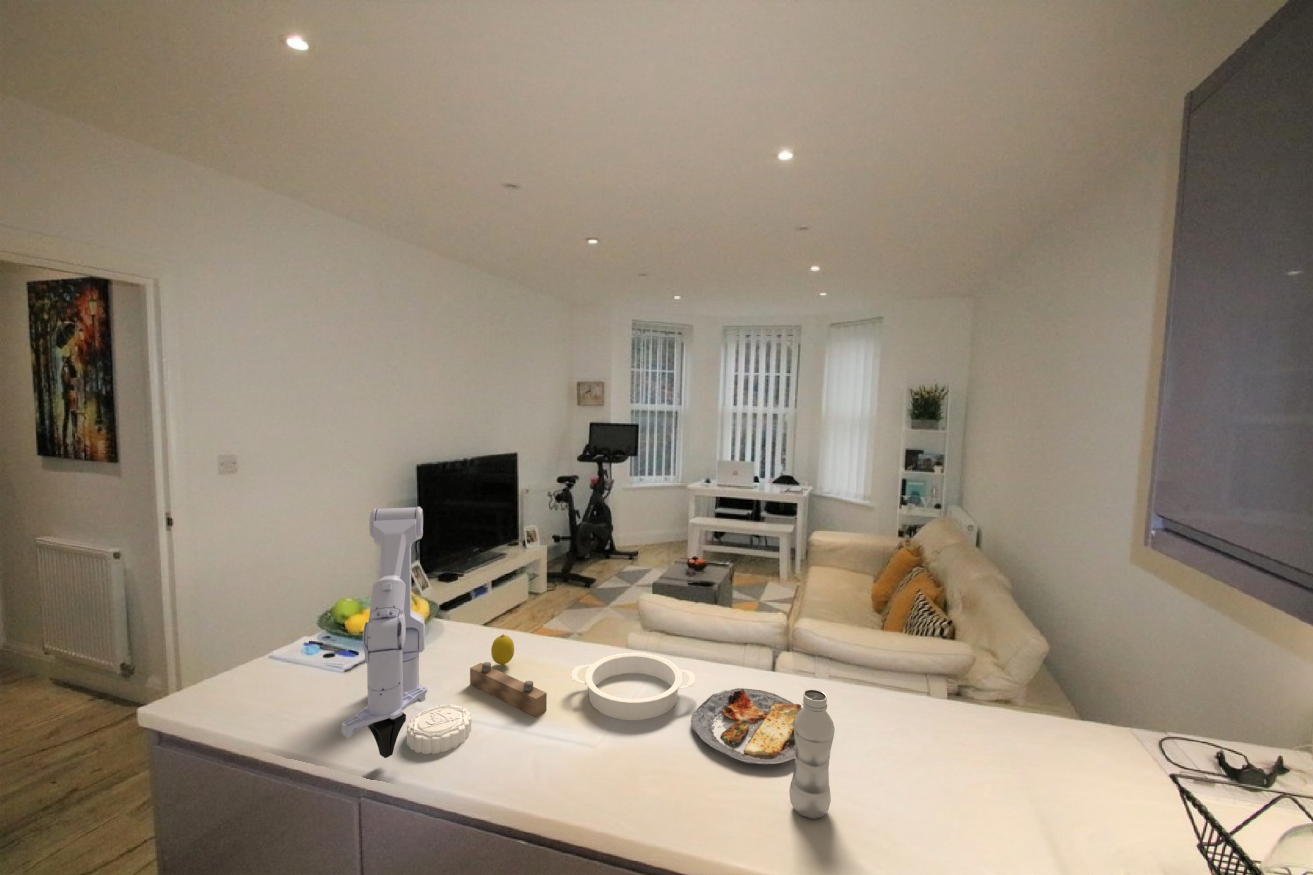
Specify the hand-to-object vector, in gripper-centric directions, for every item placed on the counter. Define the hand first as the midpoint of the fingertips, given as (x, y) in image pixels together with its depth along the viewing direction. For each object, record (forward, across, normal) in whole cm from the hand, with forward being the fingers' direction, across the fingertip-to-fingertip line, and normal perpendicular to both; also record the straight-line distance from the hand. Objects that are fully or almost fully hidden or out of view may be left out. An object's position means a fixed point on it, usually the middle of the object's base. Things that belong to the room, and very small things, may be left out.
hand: (386, 754), depth 99 cm
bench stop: (+2, +28, 0) cm, 28 cm away
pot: (+2, +46, -22) cm, 51 cm away
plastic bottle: (+2, +35, -67) cm, 76 cm away
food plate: (+2, +50, -50) cm, 71 cm away
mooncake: (+2, +11, 0) cm, 11 cm away
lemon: (+2, +37, +12) cm, 39 cm away
